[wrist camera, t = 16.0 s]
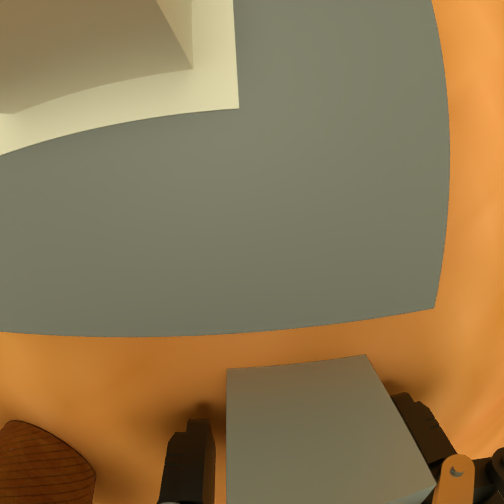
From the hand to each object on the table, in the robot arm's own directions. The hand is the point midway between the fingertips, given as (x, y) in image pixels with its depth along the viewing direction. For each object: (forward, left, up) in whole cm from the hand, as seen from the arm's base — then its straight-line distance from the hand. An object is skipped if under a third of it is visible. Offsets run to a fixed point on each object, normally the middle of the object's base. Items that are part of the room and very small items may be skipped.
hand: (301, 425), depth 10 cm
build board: (-5, +14, -1) cm, 15 cm away
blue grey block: (0, 0, -1) cm, 1 cm away
